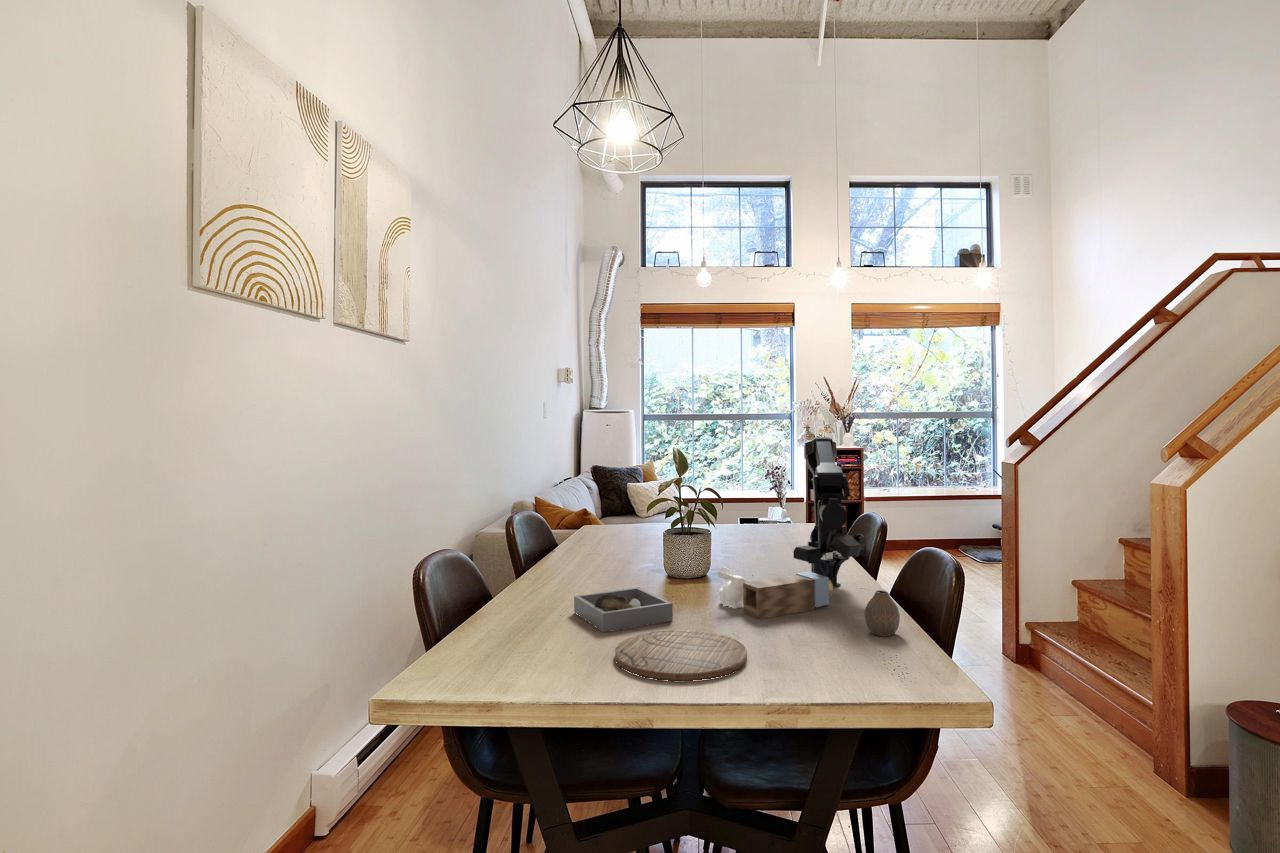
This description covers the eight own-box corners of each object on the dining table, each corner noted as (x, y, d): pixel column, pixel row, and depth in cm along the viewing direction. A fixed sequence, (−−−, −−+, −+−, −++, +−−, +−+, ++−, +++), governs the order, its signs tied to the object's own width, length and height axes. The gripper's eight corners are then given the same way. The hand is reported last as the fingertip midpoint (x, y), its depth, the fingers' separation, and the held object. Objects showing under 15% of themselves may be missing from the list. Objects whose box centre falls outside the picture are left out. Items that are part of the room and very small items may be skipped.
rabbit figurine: (754, 611, 163) (753, 570, 163) (723, 614, 161) (722, 572, 161) (737, 599, 175) (736, 560, 175) (708, 601, 173) (707, 562, 173)
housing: (759, 619, 156) (758, 588, 156) (743, 612, 162) (743, 582, 162) (814, 609, 164) (814, 579, 164) (797, 603, 169) (797, 574, 169)
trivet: (730, 691, 116) (730, 680, 116) (593, 674, 125) (593, 664, 125) (758, 645, 140) (758, 636, 140) (641, 633, 148) (641, 624, 148)
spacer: (809, 597, 171) (808, 571, 171) (828, 604, 165) (828, 577, 165) (796, 599, 170) (796, 573, 169) (815, 606, 163) (815, 579, 163)
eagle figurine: (615, 609, 162) (587, 610, 156) (630, 585, 160) (603, 585, 154) (633, 632, 157) (605, 634, 151) (649, 609, 156) (621, 610, 149)
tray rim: (574, 613, 164) (574, 596, 164) (638, 603, 171) (638, 587, 171) (603, 632, 148) (603, 613, 148) (672, 620, 156) (672, 603, 156)
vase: (894, 628, 148) (894, 587, 148) (904, 639, 141) (903, 596, 141) (861, 628, 149) (861, 587, 149) (869, 638, 142) (868, 595, 142)
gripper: (823, 529, 158) (824, 598, 158) (883, 522, 167) (884, 587, 167) (791, 523, 168) (792, 588, 168) (849, 517, 177) (850, 578, 177)
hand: (830, 585), depth 170 cm, fingers closed
